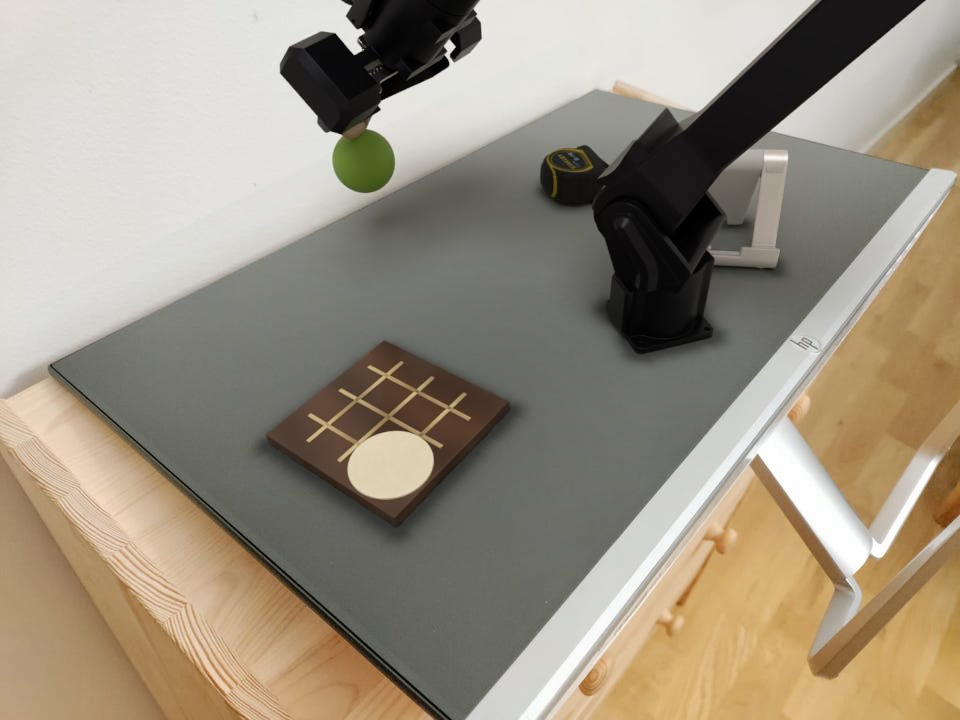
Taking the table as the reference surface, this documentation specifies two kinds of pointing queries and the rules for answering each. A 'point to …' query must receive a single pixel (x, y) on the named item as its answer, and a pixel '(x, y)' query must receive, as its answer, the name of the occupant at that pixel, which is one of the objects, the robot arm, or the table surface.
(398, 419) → the game board
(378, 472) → the cream round disc
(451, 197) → the table surface
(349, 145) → the snail figurine
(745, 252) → the tablet stand
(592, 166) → the tape measure
